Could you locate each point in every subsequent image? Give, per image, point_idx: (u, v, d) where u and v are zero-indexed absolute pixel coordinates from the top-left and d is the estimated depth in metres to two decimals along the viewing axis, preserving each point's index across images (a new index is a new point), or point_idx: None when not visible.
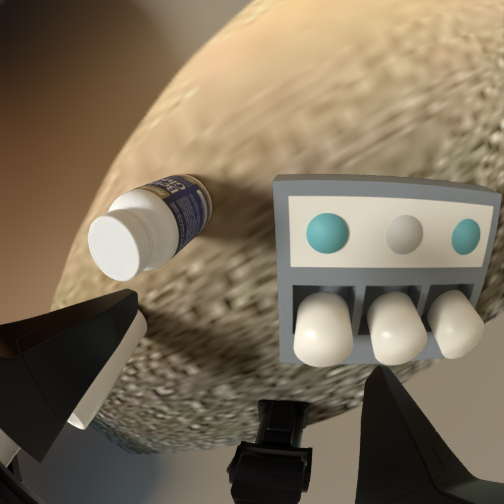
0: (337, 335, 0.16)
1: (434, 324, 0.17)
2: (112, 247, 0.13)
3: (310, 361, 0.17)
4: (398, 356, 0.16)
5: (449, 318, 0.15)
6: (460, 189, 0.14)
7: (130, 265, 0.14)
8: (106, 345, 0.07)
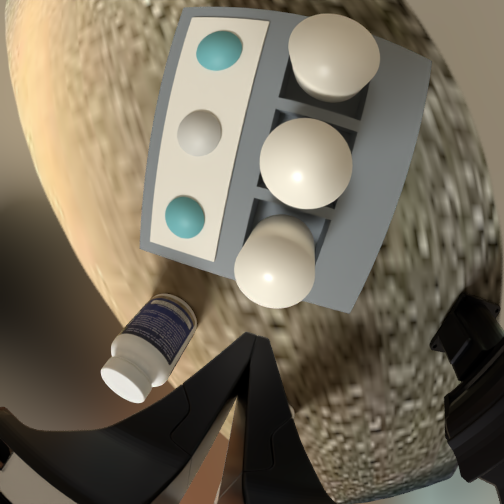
0: (256, 253, 0.13)
1: (325, 96, 0.11)
2: (119, 384, 0.16)
3: (296, 295, 0.13)
4: (329, 169, 0.11)
5: (298, 75, 0.10)
6: (167, 63, 0.13)
7: (129, 383, 0.16)
8: (234, 398, 0.07)
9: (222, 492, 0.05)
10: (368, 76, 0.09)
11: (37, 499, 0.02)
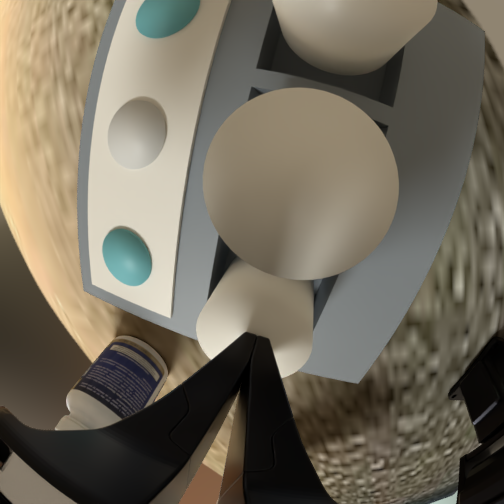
0: (225, 315, 0.09)
1: (336, 58, 0.06)
2: None
3: (285, 368, 0.09)
4: (351, 201, 0.05)
5: (284, 16, 0.04)
6: (101, 39, 0.08)
7: None
8: (234, 398, 0.07)
9: (223, 492, 0.05)
10: (422, 17, 0.03)
11: (36, 498, 0.02)
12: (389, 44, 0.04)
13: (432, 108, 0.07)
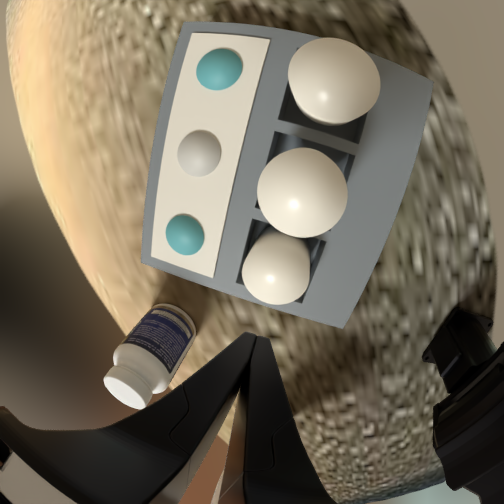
0: (260, 258, 0.16)
1: (323, 122, 0.12)
2: (121, 392, 0.17)
3: (294, 294, 0.16)
4: (325, 200, 0.11)
5: (297, 102, 0.11)
6: (167, 80, 0.14)
7: (131, 392, 0.17)
8: (234, 398, 0.07)
9: (223, 492, 0.05)
10: (367, 106, 0.09)
11: (36, 498, 0.02)
12: (349, 120, 0.10)
13: (384, 143, 0.13)
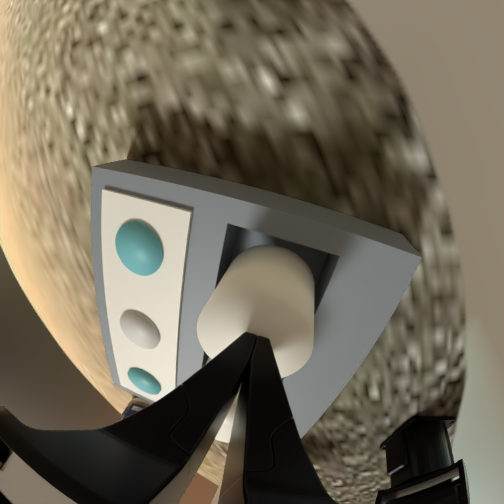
0: None
1: None
2: None
3: None
4: None
5: None
6: (92, 246, 0.13)
7: None
8: (234, 398, 0.07)
9: (223, 492, 0.05)
10: (292, 370, 0.09)
11: (36, 498, 0.02)
12: None
13: (335, 338, 0.12)
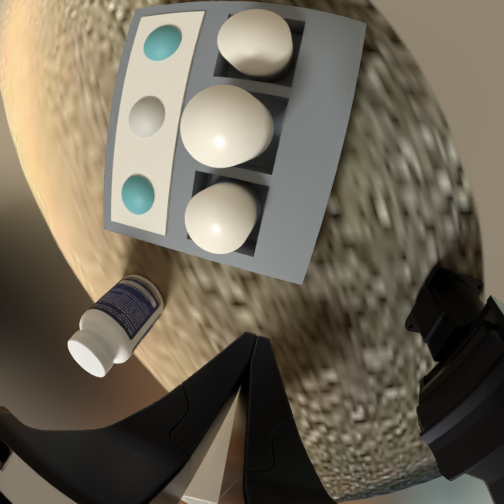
0: (200, 204, 0.15)
1: (255, 76, 0.14)
2: (83, 357, 0.17)
3: (237, 240, 0.16)
4: (242, 127, 0.11)
5: None
6: (121, 59, 0.14)
7: (90, 355, 0.16)
8: (234, 398, 0.07)
9: (223, 492, 0.05)
10: (280, 52, 0.11)
11: (36, 498, 0.02)
12: (269, 67, 0.12)
13: (318, 83, 0.13)
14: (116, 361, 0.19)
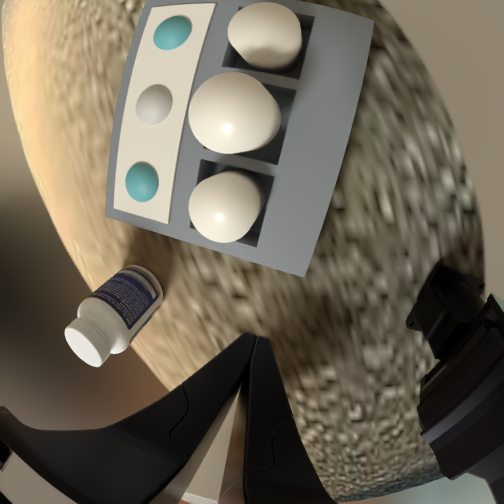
0: (205, 192, 0.15)
1: (263, 67, 0.13)
2: (80, 345, 0.17)
3: (241, 229, 0.16)
4: (250, 114, 0.11)
5: (238, 52, 0.12)
6: (130, 48, 0.14)
7: (87, 343, 0.16)
8: (234, 398, 0.07)
9: (223, 492, 0.05)
10: (290, 44, 0.11)
11: (36, 498, 0.02)
12: (278, 59, 0.12)
13: (326, 76, 0.13)
14: (113, 351, 0.19)
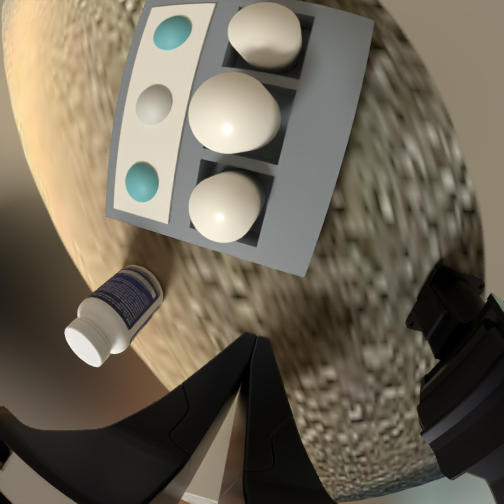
0: (205, 192, 0.15)
1: (263, 67, 0.13)
2: (80, 345, 0.17)
3: (241, 229, 0.16)
4: (250, 114, 0.11)
5: (238, 52, 0.12)
6: (130, 48, 0.14)
7: (87, 343, 0.16)
8: (234, 398, 0.07)
9: (223, 492, 0.05)
10: (290, 44, 0.11)
11: (36, 498, 0.02)
12: (278, 59, 0.12)
13: (326, 76, 0.13)
14: (113, 351, 0.19)
